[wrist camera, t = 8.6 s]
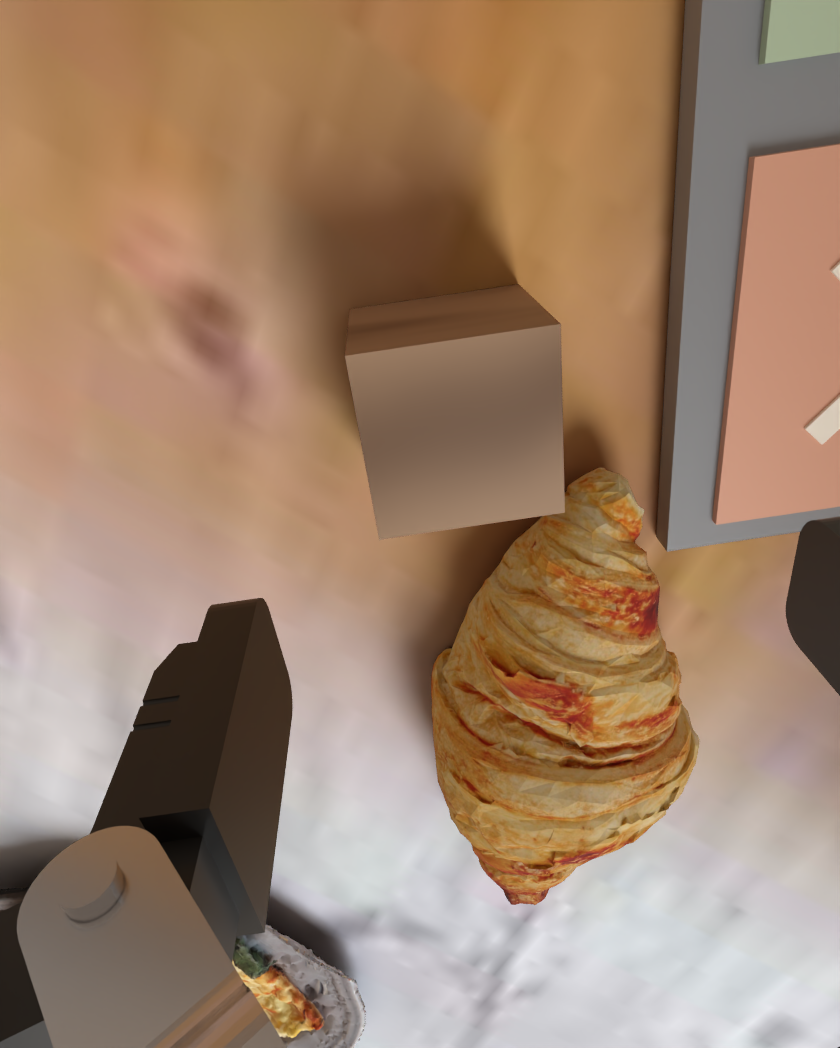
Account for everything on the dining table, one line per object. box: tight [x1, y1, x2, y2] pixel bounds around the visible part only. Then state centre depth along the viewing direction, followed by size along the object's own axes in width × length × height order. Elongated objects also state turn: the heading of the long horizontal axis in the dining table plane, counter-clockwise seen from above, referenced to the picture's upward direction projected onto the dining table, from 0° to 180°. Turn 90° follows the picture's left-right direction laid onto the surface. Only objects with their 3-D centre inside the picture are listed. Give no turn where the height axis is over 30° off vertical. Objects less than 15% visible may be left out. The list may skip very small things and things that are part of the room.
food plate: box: [0, 888, 366, 1048], centre depth 36 cm, size 25×23×4 cm
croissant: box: [431, 468, 699, 905], centre depth 25 cm, size 21×10×8 cm, turn 178°
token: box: [345, 284, 565, 540], centre depth 19 cm, size 5×5×5 cm
